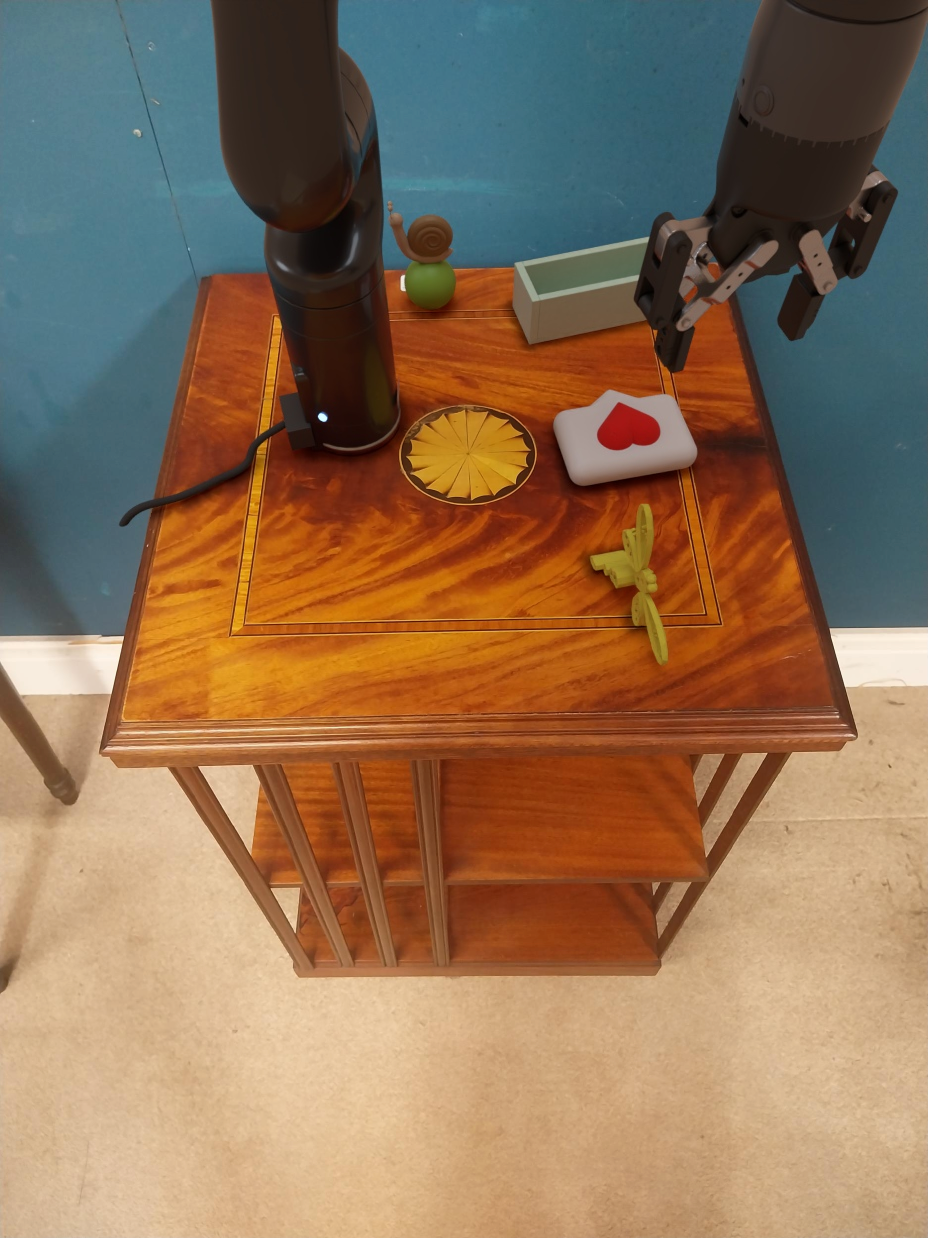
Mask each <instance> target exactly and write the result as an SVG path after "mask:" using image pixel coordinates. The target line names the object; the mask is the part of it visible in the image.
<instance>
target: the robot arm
mask: <svg viewBox="0 0 928 1238" xmlns="http://www.w3.org/2000/svg"><path fill="white" fill-rule="evenodd" d="M209 1H210V10H211V19H212V29H213V39H214V41H213V43H214V59H215V75H216V92H217V93H216V94H217V112H218V131H219V132H218V133H219V144H220V152H221V157H222V161H223V164H224V168H225V171H226V173H227V176H228V179H229V181H230V183H231V185H232V187H233V189H234V190H235V192H236V193H237V195H238V196H239V198H240V199H241V200H242V202H243V203H244V205H245V206H246V207H247V208H248V209H249V210H250V211H251V212H252V213H253V214H254V215H255V216H256V217H258V219H260V220H261V221H262V222H264V224H265V225H264V226H265V227H264V236H263V256H264V262H265V267H266V272H267V275H268V279H269V282H270V285H271V289H272V293H273V294H272V295H273V297H274V302H275V305H276V310H277V313H278V318H279V322H280V327H281V329H282V333H283V339H284V342H285V346H286V350H287V354H288V357H289V358H288V359H289V363H290V367H291V370H292V375H293V378H294V383H295V387H296V391H297V392H296V391H295V392H292V393H291V392H290V393H286V394H282V395H279V396H278V400H279V404H280V408H281V412H282V417H283V420H281V421H280V422H278V423H276V424H275V425H273V426H271V427H270V428H268V429H266V430H264V431H263V432H262V433H261V434H259V435H257V437H256V438H255V439H253V440H252V442H251V443H250V444H249V447H248V448H247V451H246V456H245V458H244V460H243V461H242V462H240V464H238V465H237V466H235V467H233V468H231V469H229V470H227V471H224V472H222V473H219V474H217V475H215V476H213V477H211V478H209V479H207V480H205V481H203V482H200V483H198V484H196V485H194V486H192V487H190V488H187V489H185V490H183V491H180V492H178V493H175V494H171V495H167V496H163V497H157V498H154V499H149V500H147V501H144V502H141V503H138V504H135V506H132V507H131V508H130V509H129V510H128V511H126V512H125V514H123V516H122V518H121V519H120V521H119V523H118V526H119V527H121V528H123V527H126V526H128V525H129V524H130V523H131V521H132V520H133V519H134V518H135V517H137V515H139V514H141V513H142V512H145V511H148V510H151V509H154V508H158V507H162V506H167V505H171V504H175V503H178V502H181V501H184V500H186V499H189V498H191V497H194V496H196V495H198V494H200V493H202V492H204V491H207V490H209V489H212V488H213V487H214V486H217V485H219V484H221V483H223V482H225V481H227V480H230V479H233V478H235V477H236V476H239V475H241V474H242V473H244V472H245V471H246V470H247V469H248V468H249V467H250V466H251V465H252V463H253V462H254V459H255V456H256V453H257V450H258V448H259V447H260V446H261V445H262V444H263V443H264V442H265V441H267V440H269V439H270V438H271V437H273V436H275V435H277V434H278V433H281V431H283V430H286V434H287V438H288V441H289V444H290V449H291V451H296V450H302V449H306V448H311V450H312V451H314V452H319V451H326V452H329V453H332V454H336V455H341V456H342V455H343V456H358V455H364V454H367V453H371V452H373V451H375V450H378V449H379V448H381V447H384V445H386V444H387V443H388V442H390V440H391V439H392V438H393V437H395V435H396V434H397V432H398V430H399V428H400V425H401V421H402V410H401V403H400V379H399V376H397V373H396V366H395V356H394V346H393V338H392V329H391V328H392V327H391V319H390V312H389V311H390V310H389V303H388V301H389V300H388V293H387V283H386V274H385V266H384V257H383V256H384V255H383V239H384V238H383V237H384V228H385V227H384V225H385V206H384V192H383V190H384V189H383V177H382V166H381V164H382V163H381V152H380V140H379V130H378V129H379V128H378V121H377V114H376V108H375V103H374V99H373V95H372V93H371V90H370V86H369V85H368V82H367V80H366V77H365V76H364V74H363V72H362V70H361V69H360V67H359V65H358V64H357V63H356V62H355V61H354V59H353V57H351V56H350V54H349V53H348V52H347V51H346V50H344V49H343V47H341V46H340V44H339V43H340V42H339V1H340V0H209ZM927 25H928V0H761V2H760V5H759V7H758V9H757V12H756V15H755V18H754V20H753V23H752V26H751V30H750V34H749V37H748V40H747V44H746V48H745V52H744V56H743V60H742V64H741V68H740V72H739V76H738V80H737V83H736V86H735V91H734V95H733V98H732V101H731V106H730V111H729V113H728V117H727V121H726V125H725V130H724V134H723V137H722V141H721V146H720V149H719V153H718V157H717V160H716V170H715V171H716V172H715V173H716V174H715V175H716V176H715V177H716V178H715V192H714V195H713V197H712V200H711V201H710V203H708V206H707V207H706V209H705V210H704V211H703V213H702V214H701V216H699V217H692V218H688V219H682V220H677V219H676V217H675V216H674V215H673V213H672V212H670V211H664V212H661V213H660V214H658V215H657V216H656V217H655V219H654V220H653V222H652V225H651V229H650V233H649V236H648V237H649V240H648V244H647V248H646V252H645V256H644V260H643V263H642V267H641V271H640V275H639V279H638V283H637V286H636V290H635V294H634V302H635V303H636V305H637V306H638V307H639V308H640V310H641V311H642V313H643V314H644V316H645V318H646V319H647V320H646V322H647V324H648V326H649V327H650V329H651V330H652V331H656V336H655V340H654V343H653V351H654V353H655V355H656V357H657V358H658V360H659V361H660V363H661V364H662V366H663V368H666V369H667V371H668V372H669V373H670V374H675V373H679V372H682V371H684V369H685V366H686V362H687V359H688V356H689V352H690V349H691V345H692V342H693V338H694V335H695V332H696V331H695V330H696V327H695V326H694V325H695V324H696V323H697V322H698V320H699V319H701V317H703V315H704V314H705V313H706V312H707V311H708V310H709V309H710V308H711V307H712V306H713V305H716V306H719V305H722V304H724V303H725V302H726V301H727V299H729V298H730V296H731V295H732V294H734V292H735V291H736V290H737V289H738V288H739V287H740V286H741V285H745V284H749V283H752V282H755V281H757V280H759V279H761V278H764V277H766V276H779V275H785V274H788V273H790V271H791V268H793V267H794V266H796V265H797V267H798V269H799V271H801V272H800V273H795V274H793V276H792V278H791V281H790V283H789V286H788V289H787V291H786V294H785V297H784V299H783V302H782V304H781V306H780V309H779V312H778V315H777V318H776V323H777V326H778V327H779V329H780V330H781V331H782V333H783V334H784V335H785V337H786V338H787V340H789V342H794V341H797V340H801V339H803V338H804V337H805V335H806V332H807V330H809V329H810V328H811V326H812V325H813V324H814V323H815V320H816V318H817V315H818V314H819V311H820V309H821V307H822V304H823V302H824V300H825V297H826V295H827V294H829V293H831V292H833V290H834V289H835V288H836V286H837V285H838V281H840V280H841V279H843V278H846V277H848V278H849V279H850V280H855V279H858V278H860V277H861V276H862V275H864V274H865V273H866V271H867V269H868V267H869V265H870V263H871V260H872V258H873V256H874V253H875V250H876V249H877V248H876V247H877V246H878V244H879V241H880V239H881V237H882V234H883V231H884V229H885V226H886V224H887V222H888V219H889V216H890V215H891V212H892V210H893V207H894V205H895V202H896V200H897V197H898V195H899V191H898V189H897V188H896V187H895V185H894V184H892V182H891V181H889V179H888V178H887V177H886V176H885V175H884V174H883V173H882V171H880V170H879V169H878V168H877V166H875V164H873V163H874V160H875V158H876V156H877V153H878V151H879V148H880V146H881V144H882V141H883V139H884V137H885V135H886V132H887V130H888V127H889V125H890V122H891V121H892V118H893V115H894V113H895V110H896V108H897V106H898V103H899V101H900V99H901V97H902V95H903V92H904V90H905V87H906V85H907V82H908V80H909V78H910V76H911V73H912V71H913V68H914V67H915V63H916V61H917V58H918V55H919V53H920V49H921V45H922V43H923V39H924V36H925V32H926V28H927ZM835 226H836V227H835ZM834 227H835V229H834V232H833V235H832V238H831V241H830V244H829V246H828V249H827V248H826V246H825V244H824V239H823V238H824V237H825V236H827V234H828V233H829V232H830V231H831V230H832V229H833V228H834ZM853 242H854V245H852V244H853ZM713 258H714V259H715V261H716V262H717V264H718V266H719V267H720V268H721V269H722V271H723V273H721V275H719V277H718V278H717V279H715V277H714V276H713V275H712V274H711V272H710V271H709V264H710V261H711V260H712V259H713ZM694 287H696V289H697V290H696V293H695V294H694V295H693V296H692V297H691V299H690V300H689V301H688V302H686V300H685V299H684V298H686V296H687V295H688V294H689V293H690V292H691V291H692V289H694Z"/></svg>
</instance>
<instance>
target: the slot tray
mask: <svg viewBox="0 0 928 1238" xmlns="http://www.w3.org/2000/svg"><path fill="white" fill-rule="evenodd" d="M649 237H650V236H645V237H641V238H640V237H639V238H636V239H630V240H624V241H620V242H614V243H610V244H604V245H599V246H594V247H590V248H584V249H579V250H574V251H570V252H569V251H568V252H564V253H558V254H553V255H549V256H544V257H538V258H533V259H528V260H523V261H517V262H514V264H513V265H514V267H513V288H512V309H513V311H514V313H515V315H516V317H517V320H518V323H519V324H520V327H521V330H522V331H523V333H524V335H525V338H526V340H527V342H528V345H534V344H539V343H544V342H548V341H554V340H558V339H563V338H567V337H573V336H578V335H582V334H587V333H592V332H596V331H601V330H606V329H611V328H615V327H619V326H626V325H629V324H634V323H640V322H643V321H647V319H646V318H645V316H644V314H643V313H642V311H641V310H640V308H639V307H638V306H637V305H636V303H635V302H634V294H635V290H636V286H637V283H638V279H639V275H640V271H641V267H642V263H643V260H644V256H645V252H646V248H647V244H648V240H649Z"/></svg>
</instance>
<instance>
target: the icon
mask: <svg viewBox="0 0 928 1238" xmlns="http://www.w3.org/2000/svg"><path fill="white" fill-rule="evenodd" d="M552 428H553V432H554V435H555V438H556V441H557V445H558V447H559V449H560V452H561V455H562V458H563V461H564V465H565V468H566V470H567V474H568V476H569V478H570V480H571V481H572V482H573V483H574V484H575V485H577V486H581V487H585V486H591V485H597V484H603V483H608V482H614V481H619V480H620V481H621V480H626V479H632V478H637V477H644V476H648V475H653V474H659V473H666V472H672V471H677V470H683V469H687V468H689V467H691V466H692V465H693V464H694V463H695V461H696V460H697V458H698V457H697V456H698V446H697V445H696V443H695V441H694V438H693V436H692V434H691V431H690V429H689V427H688V425H687V423H686V420H685V418H684V416H683V414H682V411H681V409H680V407H679V404H678V402H677V400H676V399H675V397H673V396H672V395H670V394H666V393H661V394H655V395H648V396H642V397H635V396H633V395H629V394H626V393H623V392H619V391H617V390H613V389H607V390H606V391H605V392H604V393H602V395H600V396H599V397H598V398H597V399H596V400H594V402H592V404H590V405H588V406H582V407H577V408H571V409H565V410H562V411H560V412H558V413H557V414H556V416H555V418H554V420H553V424H552Z"/></svg>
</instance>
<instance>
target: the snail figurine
mask: <svg viewBox="0 0 928 1238" xmlns="http://www.w3.org/2000/svg"><path fill="white" fill-rule="evenodd" d="M386 206H387V211H388V212H389V216H388V223H389V224H388V225H389V227H390V228H391V229H392V230H391V231H392V233H393V236H394V239H395V242H396V244H397V247H398V248H399V250H400V252H401V253H402V255H403V256H405V257H406V258H407V259H409V260H411V262H410V264H408V266H407V269H406V270H405V273H404V281H403V282H404V283H403V285H404V290H405V293H406V295H407V297H408V298H409V300H410V301H411V302H412V303H413V304H414V305H415V306H417V307H418V308H421V309H423V310H429V311H430V310H432V311H433V310H437V309H441V308H443V307H444V306H446V305H447V304H448V303H449V302H450V301H451V300H452V299H453V296H454V294H455V291H456V287H457V278H456V277H457V276H456V273H455V271H454V269H453V266H452V264H450V263H449V261H448V260H446V259H448V258H449V257H450V256H451V255H452V254H453V252H454V248H452V247H451V245H452V243H453V239H454V232H453V228H452V226H451V224H450V223H449V222H448V221H447V219H445V218H444V217H443V216H440V215H437V214H424V215H422V216H419V217H418V218H416V219H415V220H413V221H412V222H411V224H410V225H409V227H408V230H407V234H406V232H405V229H404V226H403V224H404V218H403V215H401V213H398V212H393V210H394V206H393V202H392V201H391V200H389V201H387V205H386ZM392 212H393V213H392Z"/></svg>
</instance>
